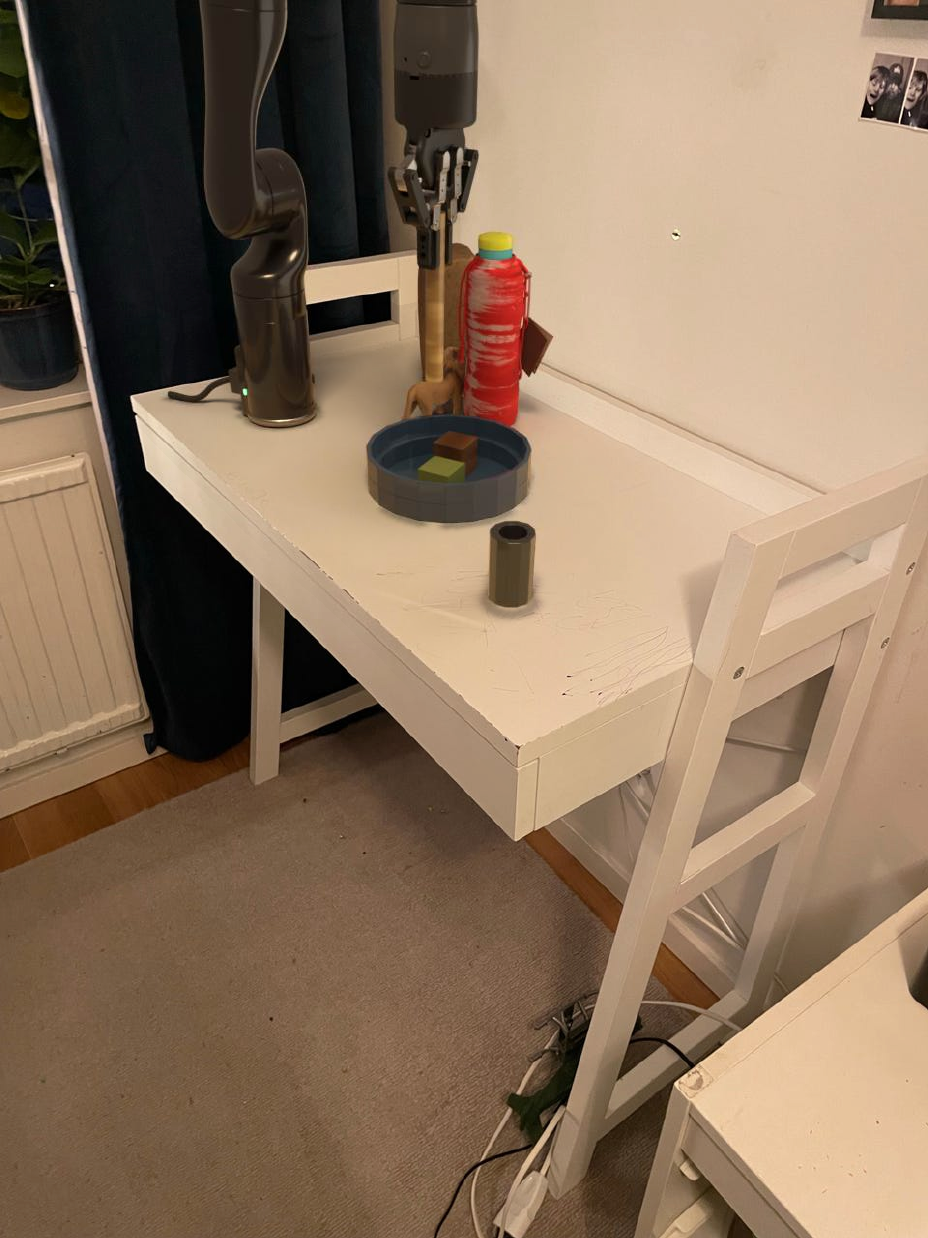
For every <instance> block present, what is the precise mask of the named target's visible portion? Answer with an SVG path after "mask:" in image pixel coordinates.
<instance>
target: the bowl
mask: <svg viewBox="0 0 928 1238" xmlns="http://www.w3.org/2000/svg"><path fill="white" fill-rule="evenodd" d="M448 431H453V432H457V433H461V434H465V435H470V436H474V437H478V449H477V467H476V468H475V469H474V470H473V471H472V472H471V473H469V474H468V475H467V476H466V477H465V482H459V483H439V482H428V481H419V480H418V469H419V468H420V467H421V466H422V465H424V464H425V463H426V462H428V461H429V460H430V459H432V458H433V443H434V442H435V441H436V440H438V439H439V438H440V437H442V436H443V435H444V434H446V433H447V432H448ZM365 449H366V451H365V452H366V453H365V454H366V469H367V483H368V492H369V493H368V494H369V495H370V496H371V497H372V499H374V501H376V503H377V504H378V505H379V506H381V507H382V508H384V509H386V510H388V511H390V512H392V513H394V514H396V515H399V516H401V517H405V518H409V519H412V520H416V521H420V522H421V521H422V522H432V523H442V524H449V523H451V524H452V523H453V524H454V523H468V522H476V521H480V520H485V519H489V518H493V517H498V516H500V515H502V514H504V513H506V512H508V511H510V510H512V509H514V508H516V507H517V506H518V505H519V504H520V503H521V502H522V501H523V500H524V499H525V498H526V497H527V495H528V492H529V488H530V485H531V470H532V469H531V467H532V450H533V449H532V447H531V444H530V442H529V440H528V438H527V436H525V435H524V434H522V433H521V432H520V431H519V430H517V429H516V428H515V427H513V426H508V425H506V424H503V423H501V422H498V421H495V420H491V419H486V418H482V417H478V416H469V415H465V414H460V415H457V414H453V413H442V414H432V415H425V416H423V415H420V416H415V417H410V418H409V419H404V420H401V419H400V420H399V421H396V422H393V423H391V424H387V425H386V426H384V427H383V428H381V429H380V430H378V431H377V432H375V433H374V434H372V436H371V437H370V439H369V441H368V442H367V444H366V446H365Z"/></svg>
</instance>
